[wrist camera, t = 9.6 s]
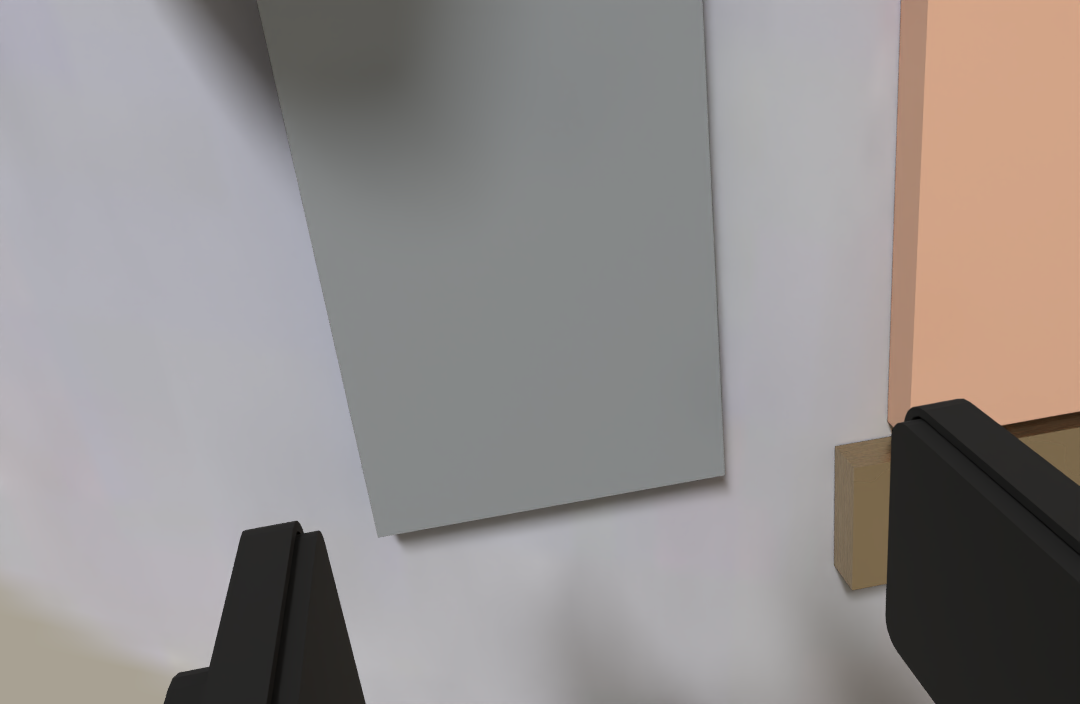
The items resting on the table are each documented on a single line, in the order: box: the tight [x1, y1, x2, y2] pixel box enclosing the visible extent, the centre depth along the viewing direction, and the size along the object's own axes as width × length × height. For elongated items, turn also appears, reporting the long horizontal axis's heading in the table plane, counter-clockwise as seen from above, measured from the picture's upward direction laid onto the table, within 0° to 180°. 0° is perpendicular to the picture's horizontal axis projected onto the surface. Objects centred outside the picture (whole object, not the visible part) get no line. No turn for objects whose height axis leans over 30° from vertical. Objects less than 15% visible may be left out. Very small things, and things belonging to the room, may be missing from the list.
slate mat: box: [257, 0, 725, 538], centre depth 22 cm, size 9×14×1 cm, turn 7°
